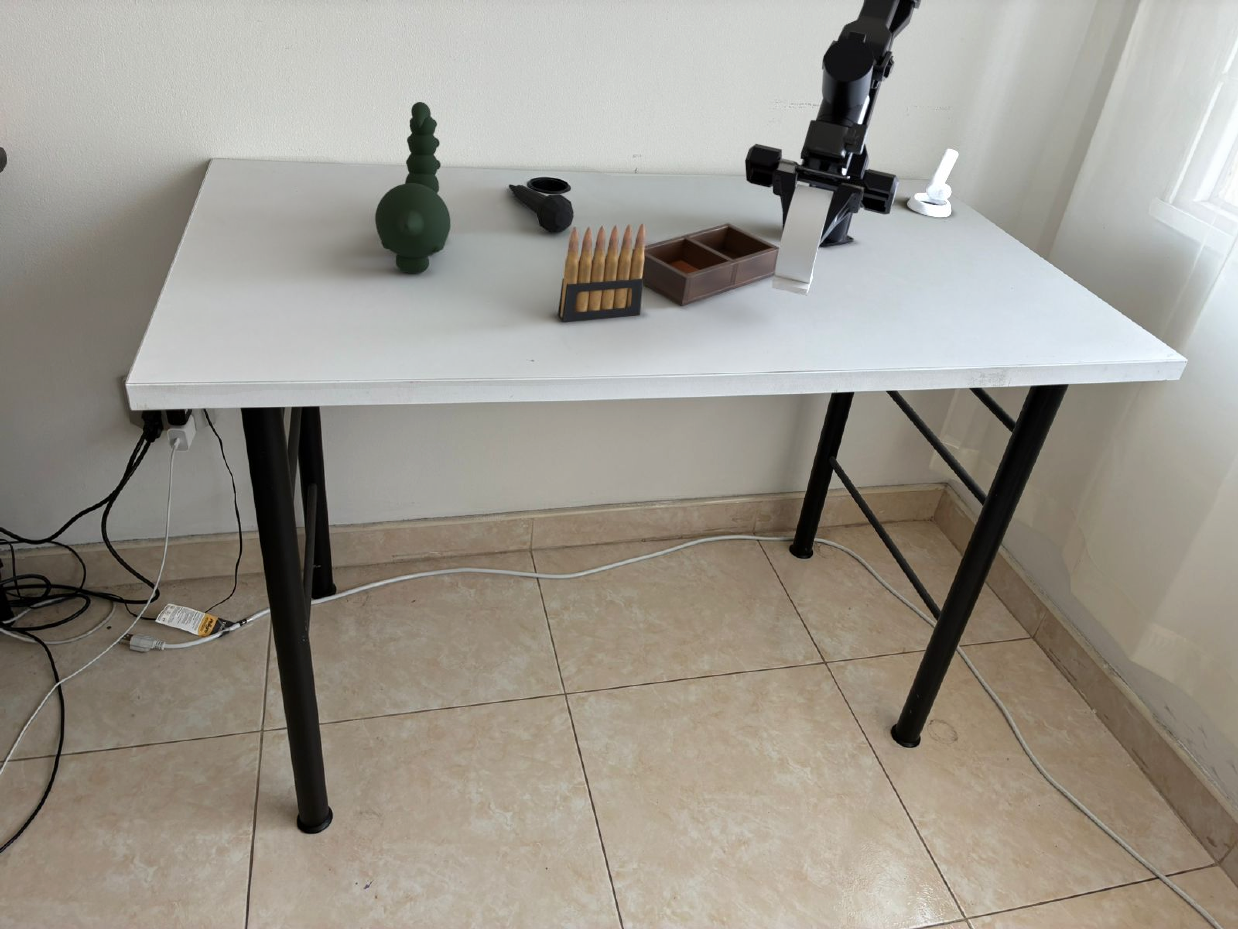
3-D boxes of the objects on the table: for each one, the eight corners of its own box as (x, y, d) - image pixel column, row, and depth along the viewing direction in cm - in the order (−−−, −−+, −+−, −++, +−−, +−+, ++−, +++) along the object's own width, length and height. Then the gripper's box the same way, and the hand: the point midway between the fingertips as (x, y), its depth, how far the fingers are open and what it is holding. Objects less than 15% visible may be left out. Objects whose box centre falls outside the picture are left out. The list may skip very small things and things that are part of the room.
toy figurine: (391, 227, 139) (369, 288, 118) (388, 91, 129) (364, 131, 108) (456, 232, 140) (446, 293, 119) (458, 97, 130) (447, 138, 109)
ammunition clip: (562, 322, 118) (570, 231, 111) (557, 315, 119) (565, 224, 112) (640, 314, 122) (652, 226, 115) (634, 308, 123) (646, 220, 116)
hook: (965, 171, 170) (978, 160, 163) (937, 232, 171) (949, 223, 164) (927, 154, 171) (939, 142, 164) (899, 215, 171) (909, 206, 164)
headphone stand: (811, 279, 124) (833, 191, 117) (805, 299, 119) (827, 208, 112) (777, 271, 125) (797, 183, 117) (769, 290, 120) (789, 200, 113)
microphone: (500, 209, 153) (552, 244, 138) (489, 175, 149) (541, 207, 134) (530, 196, 154) (584, 229, 139) (520, 162, 151) (574, 192, 136)
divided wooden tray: (723, 248, 142) (728, 222, 140) (775, 274, 137) (781, 248, 134) (628, 276, 131) (632, 248, 128) (681, 306, 125) (686, 278, 123)
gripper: (764, 75, 113) (724, 193, 111) (920, 108, 109) (881, 230, 107) (765, 125, 124) (729, 233, 122) (907, 156, 120) (872, 268, 118)
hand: (800, 240), depth 117 cm, fingers closed on headphone stand, 4 cm apart
